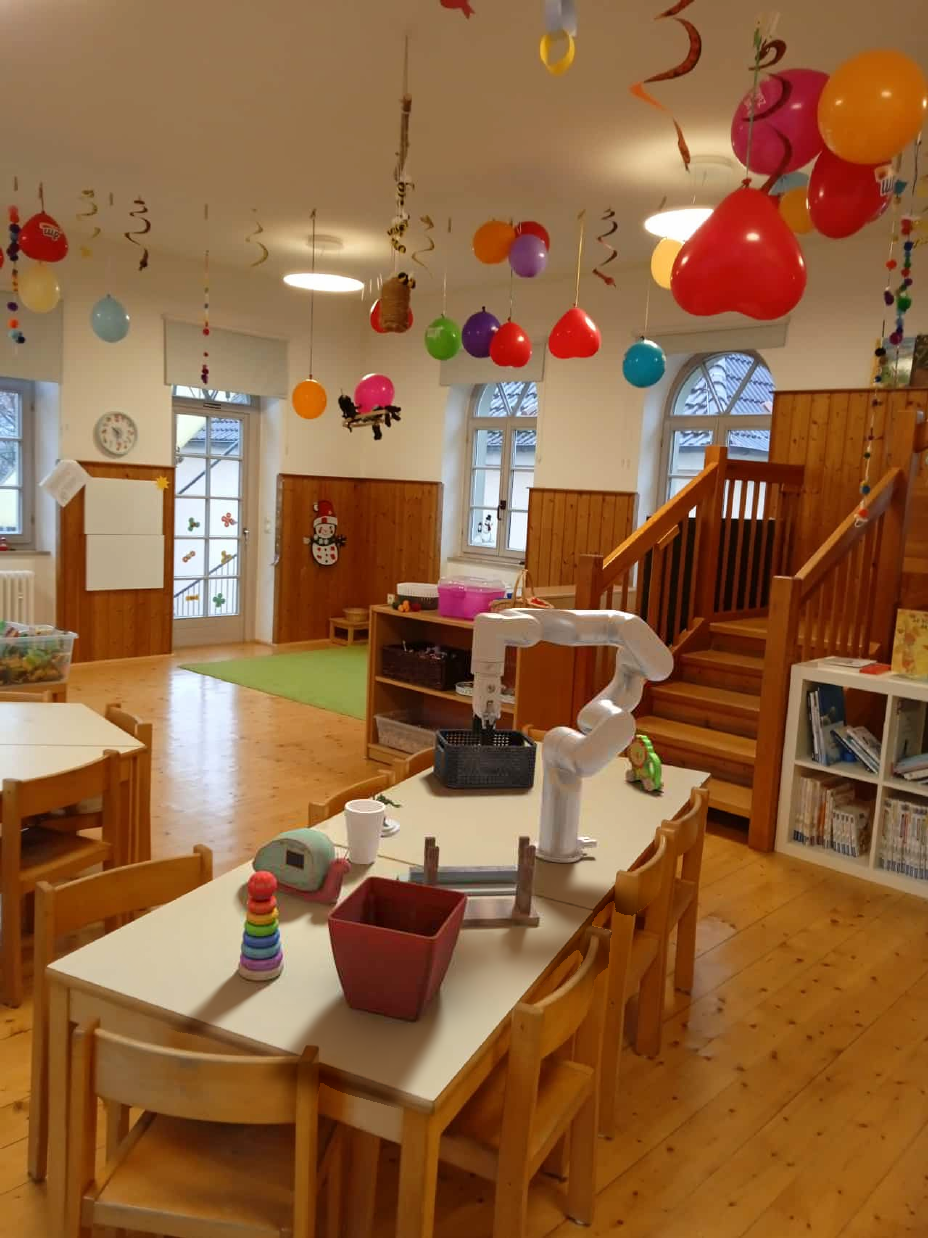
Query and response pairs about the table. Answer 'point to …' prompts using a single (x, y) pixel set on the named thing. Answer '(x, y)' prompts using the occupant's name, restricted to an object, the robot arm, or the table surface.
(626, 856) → the table surface
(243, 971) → the stacking toy
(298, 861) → the toy snail
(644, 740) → the toy lion
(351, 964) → the plant pot
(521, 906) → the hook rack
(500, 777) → the storage bin
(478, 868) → the rail
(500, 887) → the mat
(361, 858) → the foam cup
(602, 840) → the table surface
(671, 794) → the table surface
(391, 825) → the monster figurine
